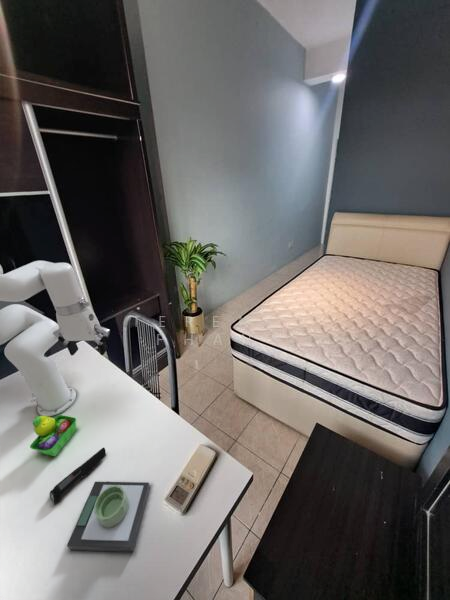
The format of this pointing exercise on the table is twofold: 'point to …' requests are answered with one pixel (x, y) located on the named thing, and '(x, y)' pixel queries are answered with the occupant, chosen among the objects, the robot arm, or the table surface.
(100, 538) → the scale
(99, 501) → the bowl
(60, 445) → the fruit basket
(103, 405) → the table surface
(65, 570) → the table surface
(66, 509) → the table surface
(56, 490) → the electric trimmer
